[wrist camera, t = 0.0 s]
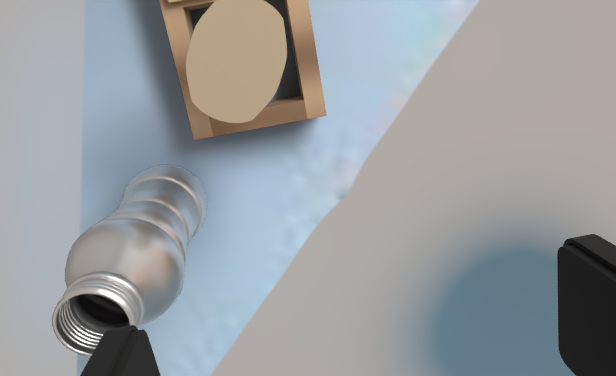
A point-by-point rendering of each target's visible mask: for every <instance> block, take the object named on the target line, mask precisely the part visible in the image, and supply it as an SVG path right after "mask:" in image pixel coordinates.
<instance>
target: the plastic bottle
mask: <svg viewBox="0 0 616 376" xmlns="http://www.w3.org/2000/svg"><path fill="white" fill-rule="evenodd" d="M207 207H208V205H207V198H206V193H205V190H204V188H203V186H202V184H201V183H200V181H199V180H198V179H197V178H196V177H195V176H194V175H193V174H192V173H190V172H189V171H187V170H185V169H184V168H181V167H178V166H175V165H157V166H153V167H150V168H148V169H145V170H143V171H141V172H140V173H138V174H137V175H136V176H134V177H133V179H132V180H131V181H130V182H129V184H128V186H127V188H126V190H125V192H124V195H123V198H122V202H121V204H120V206H119V208H117V210H115V211H114V212H113V213H112V214H111V215H110V216H108V217H107V218H105V219H103V220H102V221H100V222H98V223H97V224H95V225H94V226H92V227H91V228H89V229H88V230H87V231H86V232H84V233H83V234H82V235H81V236H80V237H79V238H78V239H77V240H76V242H74V244H73V245H72V247H71V250H70V252H69V254H68V258H67V263H66V268H65V281H66V285H67V290H66V292H65V294H64V296H63V298H62V299H61V300H60V301H59V303H58V304H57V306H56V308H55V310H54V312H53V317H52V326H53V329H54V332H55V334H56V336H57V338H58V339H59V340H60V342H61V343H62V344H64V345H65V346H66V347H67V348H69V349H70V350H72V351H74V352H76V353H78V354H80V355H84V356H89V357H91V356H92V354H93V352H94V350H95V348H96V347H97V345H98V343H99V341H100V340H101V338H102V336H103V334H104V333H105V331H106V330H109V329H114V328H119V327H124V326H129V325H134V326H136V328H137V329H138V327H139V326H140V325H142V324H146V323H148V322H150V321H153V320H155V319H156V318H158V317H159V316H161V315H162V314H163V313H164V312H165V311H167V310H168V309H169V308H170V307H171V306H172V305H173V304H174V303H175V301H176V300H177V298H178V296H179V295H180V293H181V290H182V287H183V283H184V277H185V253H186V249H187V245H188V242H189V240H190V239H191V237H193V236H194V234H195V233H196V232H197V231H198V230H199V229H200V227H201V226H202V224H203V222H204V221H205V218H206V215H207Z"/></svg>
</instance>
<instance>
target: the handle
mask: <svg viewBox="0 0 616 376" xmlns="http://www.w3.org/2000/svg"><path fill="white" fill-rule="evenodd" d="M286 59H287V43H286V34H285V27H284V20H283V18H282V16H281V15H280V14H279V12H278V11H277V10H276V9H275V8H274V7H273V6H272V5H270V4H269V3H267V2H266V1H264V0H216V1H215V2H214V3H213V4H212V5H211V6H210V7H209V8H208V10H207V11H206V12H205V13H204V14H203V16H202V17H201V18H200V20H199V21H198V23H197V24H196V26H195V29H194V32H193V34H192V38H191V42H190V46H189V50H188V54H187V60H186V75H187V81H188V86H189V91H190V96H191V101H192V102H193V103H194V104H195V106H196V107H197V108H198V109H200V110H201V111H202V112H203V113H205V114H206V115H208V116H210V117H212V118H215V119H217V120H220V121H224V122H228V123H243V122H248V121H251V120H253V119H254V118H255V117H256V116H257V115H258V114H259V113H260V112H261V111H262V110H263V109H264V107H265V106H266V105H267V104H268V103H269V102H270V101H271V99H272V98H273V96H274V95H275V93H276V91H277V89H278V86H279V84H280V80H281V77H282V74H283V71H284V68H285V64H286Z"/></svg>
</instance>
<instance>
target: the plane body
mask: <svg viewBox="0 0 616 376" xmlns="http://www.w3.org/2000/svg"><path fill="white" fill-rule="evenodd" d="M159 1H160V5H161V9H162V13H163V17H164V21H165V25H166V29H167V33H168V37H169V41H170V45H171V49H172V53H173V57H174V61H175V65H176V69H177V73H178V77H179V81H180V85H181V89H182V93H183V97H184V101H185V105H186V109H187V113H188V117H189V121H190V125H191V129H192V133H193V137H194V140H198V139H204V138H209V137H215V136H220V135H225V134H231V133H236V132H241V131H247V130H252V129H257V128H263V127H268V126H274V125H279V124H284V123H290V122H295V121H300V120H306V119H311V118H317V117H322V116H326V110H325V104H324V97H323V91H322V85H321V79H320V72H319V66H318V60H317V54H316V48H315V41H314V35H313V29H312V23H311V16H310V10H309V4H308V0H284V1H285V7H286V12H287V18H288V24H289V30H290V35H291V41H292V47H293V53H294V58H295V64H296V70H297V75H298V81H299V87H300V93H301V95H300V96H294V97H289V98H283V99H278V100H273V101H270V102H269V103H268V104H267V105H266V106H265V107H264V109H263V110H262V111H261V112H260V113H259V114H258V115H257V116H256V117H255V118H254V119H253V120H251V121H248V122H243V123H228V122H224V121H220V120H217V119H215V118H212V117H210V116H208V115H206V114H205V113H203V112H202V111H201V110H200V109H198V108H197V107H196V106H195V104H194V103H193V102H192V101H191V96H190V91H189V86H188V81H187V75H186V60H187V54H188V50H189V46H190V42H191V38H192V34H193V32H194V24H193V20H192V16H191V12H190V10H196V9H201V8H207V7H210V6H211V5H212V4H213V3H214V2H215V1H216V0H159Z"/></svg>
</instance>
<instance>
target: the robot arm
mask: <svg viewBox="0 0 616 376" xmlns="http://www.w3.org/2000/svg"><path fill="white" fill-rule="evenodd" d="M558 333H559V351H560V355H561V357H562V359H563V361H564V363H565V364H566V365H567V366H568V367H569V368H570V369H571V371H572V372H573V373H574V374H575V375H576V376H616V246H615V245H613V244H611V243H610V242H608V241H606V240H605V239H603V238H601V237H599V236H597V235H595V234H590V235H586V236H580V237H575V238H570V239H567V240H566V241H565V243H564V245H563V247H560V248H559V250H558ZM80 376H160V373H159V370H158V367H157V363H156V360H155V357H154V354H153V351H152V348H151V345H150V342H149V339H148V336H147V333H146V332H145V330H138V329H137V328H136V326H134V325H129V326H124V327H119V328H114V329H109V330H106V331H105V333H104V334H103V336H102V338H101V340H100V341H99V343H98V345H97V347H96V348H95V350H94V352H93V354H92V356H91V357H90V359H89V361H88V363H87V365H86V366H85V368H84V370H83V372H82V373H81V375H80Z"/></svg>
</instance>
